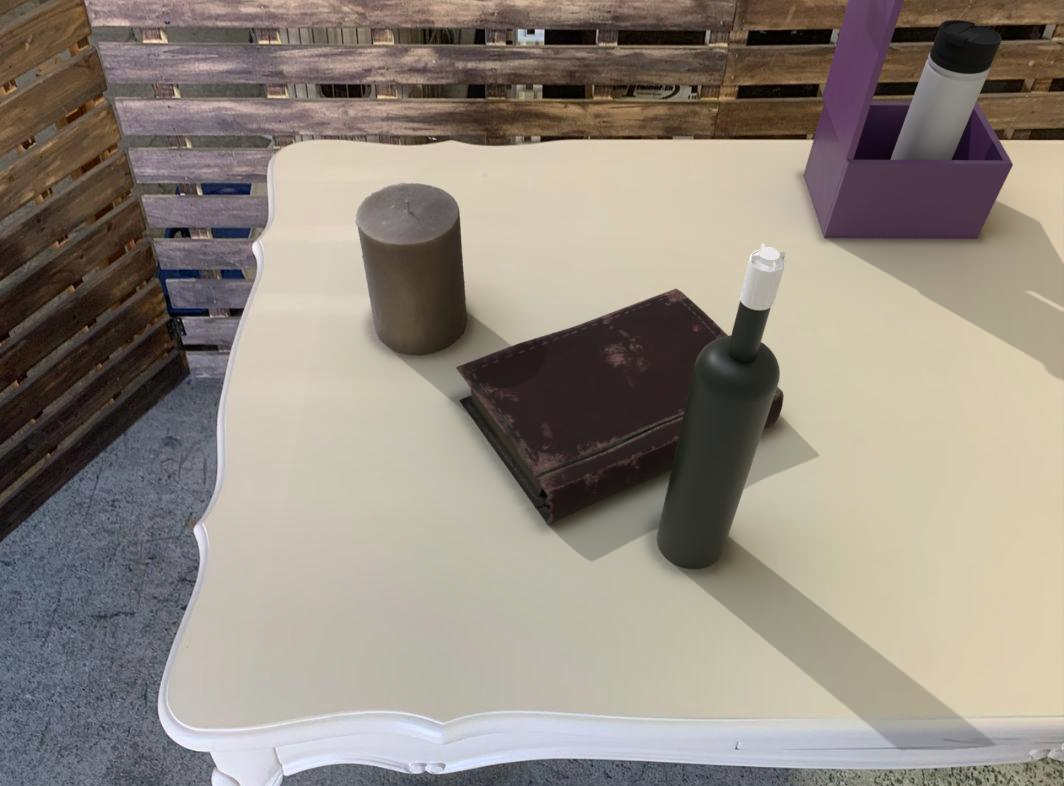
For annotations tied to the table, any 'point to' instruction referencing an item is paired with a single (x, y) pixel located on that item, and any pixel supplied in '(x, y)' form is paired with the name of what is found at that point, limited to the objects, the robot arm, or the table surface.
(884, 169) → the box
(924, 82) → the travel mug
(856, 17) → the lid
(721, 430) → the wine bottle
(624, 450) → the diary
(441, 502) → the table surface
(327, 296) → the table surface
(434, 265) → the pillar candle
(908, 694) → the table surface
